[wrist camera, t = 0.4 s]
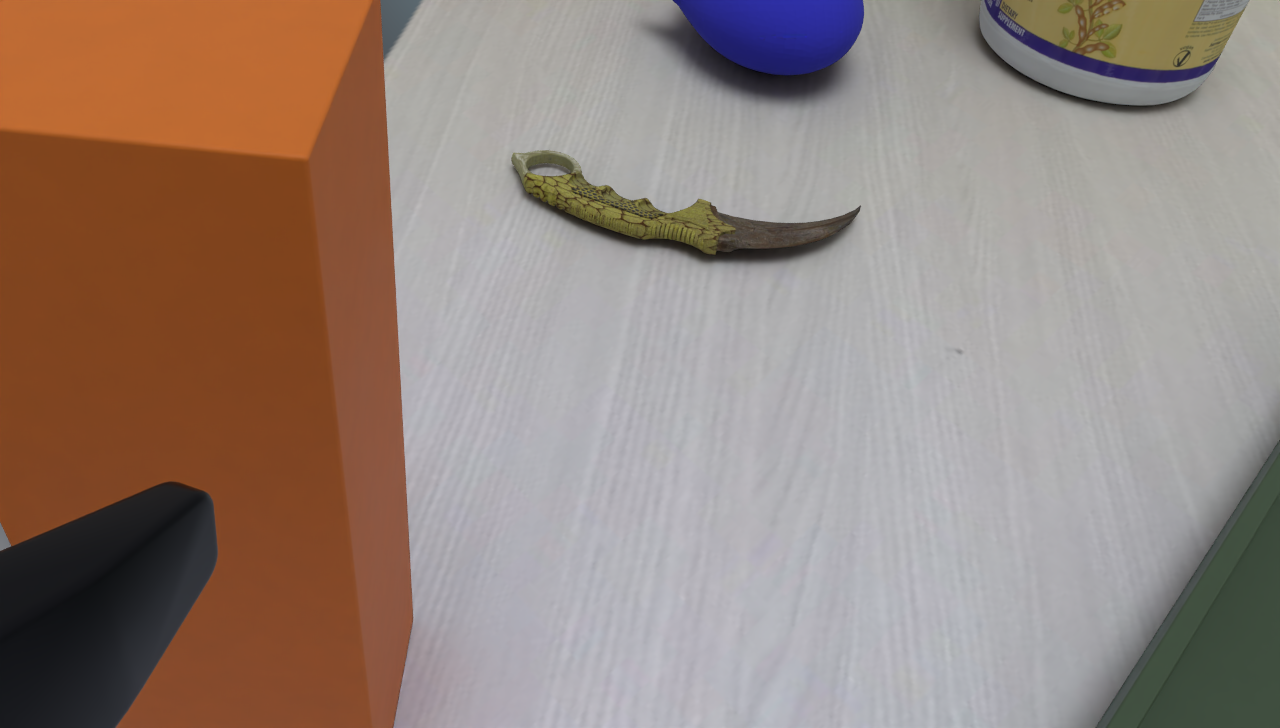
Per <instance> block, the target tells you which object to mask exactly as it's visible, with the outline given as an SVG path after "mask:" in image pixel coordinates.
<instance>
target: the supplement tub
mask: <svg viewBox="0 0 1280 728" xmlns="http://www.w3.org/2000/svg"><path fill="white" fill-rule="evenodd" d="M1248 2H1249V0H982V2H981V6H980V12H979V22H980V29H981V32H982V34H983V37H984V38H985V40H986V41H987V43H988V44H989V46H990V47H991V48H992V49H993V50H994V51H995V52H996V53H997V54H998V55H999V56H1000V57H1001V58H1002V59H1003V60H1004V61H1005V62H1007V63H1008V64H1009V65H1011V66H1012V67H1013V68H1015V69H1016V70H1018V71H1019V72H1021V73H1023V74H1024V75H1026V76H1028V77H1029V78H1031V79H1033V80H1035V81H1037V82H1039V83H1041V84H1044V85H1046V86H1048V87H1051V88H1053V89H1055V90H1058V91H1061V92H1064V93H1067V94H1070V95H1073V96H1077V97H1081V98H1085V99H1089V100H1094V101H1099V102H1105V103H1112V104H1122V105H1157V104H1163V103H1168V102H1171V101H1175V100H1178V99H1180V98H1182V97H1184V96H1186V95H1188V94H1189V93H1191V92H1193V91H1194V90H1195V89H1197V88H1198V87H1199V86H1200V85H1201V84H1202V83H1203V82H1204V81H1205V80H1206V78H1207V77H1208V76H1209V75H1210V74H1211V72H1212V71H1213V69H1214V67H1215V64H1216V62H1217V60H1218V58H1219V56H1220V55H1221V53H1222V51H1223V49H1224V47H1225V45H1226V43H1227V41H1228V40H1229V38H1230V36H1231V34H1232V32H1233V30H1234V28H1235V26H1236V25H1237V23H1238V21H1239V19H1240V17H1241V15H1242V13H1243V12H1244V10H1245V8H1246V6H1247V4H1248Z"/></svg>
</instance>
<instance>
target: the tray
mask: <svg viewBox="0 0 1280 728" xmlns="http://www.w3.org/2000/svg"><path fill="white" fill-rule="evenodd" d="M1096 728H1280V440H1279V442H1278V443H1277V445H1276V446H1275V448H1274V450H1273V451H1272V453H1271V454H1270V456H1269V457H1268V459H1267V461H1266V462H1265V464H1264V465H1263V467H1262V468H1261V470H1260V471H1259V473H1258V475H1257V476H1256V478H1255V479H1254V481H1253V482H1252V484H1251V486H1250V487H1249V489H1248V490H1247V492H1246V493H1245V495H1244V496H1243V498H1242V500H1241V501H1240V503H1239V504H1238V506H1237V507H1236V509H1235V511H1234V512H1233V514H1232V515H1231V517H1230V518H1229V520H1228V522H1227V523H1226V525H1225V526H1224V528H1223V529H1222V531H1221V532H1220V534H1219V536H1218V537H1217V539H1216V540H1215V542H1214V543H1213V545H1212V547H1211V548H1210V550H1209V551H1208V553H1207V554H1206V556H1205V557H1204V559H1203V561H1202V562H1201V564H1200V565H1199V567H1198V568H1197V570H1196V572H1195V573H1194V575H1193V576H1192V578H1191V579H1190V581H1189V582H1188V584H1187V586H1186V587H1185V589H1184V590H1183V592H1182V593H1181V595H1180V597H1179V598H1178V600H1177V601H1176V603H1175V604H1174V606H1173V607H1172V609H1171V611H1170V612H1169V614H1168V615H1167V617H1166V618H1165V620H1164V622H1163V623H1162V625H1161V626H1160V628H1159V629H1158V631H1157V633H1156V634H1155V636H1154V637H1153V639H1152V640H1151V642H1150V643H1149V645H1148V647H1147V648H1146V650H1145V651H1144V653H1143V654H1142V656H1141V658H1140V659H1139V661H1138V662H1137V664H1136V665H1135V667H1134V668H1133V670H1132V672H1131V673H1130V675H1129V676H1128V678H1127V679H1126V681H1125V683H1124V684H1123V686H1122V687H1121V689H1120V690H1119V692H1118V693H1117V695H1116V697H1115V698H1114V700H1113V701H1112V703H1111V704H1110V706H1109V708H1108V709H1107V711H1106V712H1105V714H1104V715H1103V717H1102V719H1101V720H1100V722H1099V723H1098V725H1097V726H1096Z"/></svg>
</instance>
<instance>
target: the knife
mask: <svg viewBox="0 0 1280 728" xmlns="http://www.w3.org/2000/svg"><path fill="white" fill-rule="evenodd" d="M511 159H512V163H513V165H514V167H515V168H516V169H517V171H518V173H519V175H520V177H521V180H522V184H523V185H524V188H525V191H526V192H527V193H528V194H532V193H533V196H534V197H536V198H538V197H540V200H542V201H543V202H546V201H548V203H549V204H550V205H552V206H555V205H556V207H557V208H559V209H560V210H562V209H564V210H565V211H566V212H567V213H569V214H571V215H574V216H576V217H578V218H580V219H583V220H585V221H588V222H590V223H593V224H595V225H598V226H601V227H604V228H607V229H610V230H613V231H615V232H618V233H622V234H625V235H628V236H632V237H635V238H639V239H643V240H644V239H654V238H661V239H670V240H676V241H679V242H683V243H687V244H689V245H692V246H694V247H696V248H698V249H699V250H701V251H702V252H704V253H706V254H711V255H715V254H716V252H717V251H723V252H731V251H733V250H737V249H743V248H757V249H768V248H783V247H792V246H798V245H804V244H808V243H812V242H816V241H819V240H821V239H824V238H827V237H829V236H831V235H833V234H835V233H837V232H839V231H840V230H842V229H843V228H845V227H846V226H847V225H849V224H850V223H851V222H852V221H853V220H854V219H855V217H856V216H857V214H858V213H859V211H860V207H861V206H859V207H858V208H857V209H856V210H854V211H852V212H849V213H847V214H845V215H843V216H839V217H836V218H832V219H827V220H822V221H816V222H807V223H773V222H763V221H754V220H749V219H744V218H738V217H733V216H729V215H726V214H722V213H719V212H717V209H716V207H715V206H712V205H711V203H710V202H708V201H705V200H702V199H698V200H697V202H696V203H695V204H693V205H692V206H691V207H688V208H686V209H683V210H680V211H677V212H674V213H665V212H662V211H659V210H658V209H656V208H655V207H653V205H652V204H651V202H650V201H649V200H648V199H647V198H643V199H638V200H634V201H633V200H632V201H631V200H628V199H625V198H623V197H621V196H619V195H618V194H616V193H615V191H614V190H613V189H612V188H611V187H610V186H607V185H605V186H599V187H597V186H593V185H591V184H589V183H588V182H587V181H586V180H585V179H584V177H583V175H582V171H581V167H580V165H579V164H578V162H577V161H576V160H575V159H574V158H572V157H570V156H569V155H566V154H564V153H560V152H556V151H549V150H545V151H533V152H528V153H513V155H512V158H511ZM542 163H550V164H557V165H560V166H563V167H565V168H567V169H569V170H570V171H571V172H572V173H569V174H566V175H562V176H540V175H535V174H533V173H531V172H530V171H529V170H528V168H529V167H531V166H533V165H536V164H542Z"/></svg>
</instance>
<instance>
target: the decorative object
mask: <svg viewBox="0 0 1280 728" xmlns="http://www.w3.org/2000/svg"><path fill="white" fill-rule="evenodd" d="M673 1H674V2H675V3H676V4H677V5H678V6H679V7H680V9H681V10H682V12H683V13H684V15H685V16H686V18H687V19H688V20H689V22H690V23H691V24H692V26H693V27H694V28H695V30H696V31H697V32H698V33H699V35H700V36H701V37H702V38H703V39H704V40H705V41H706V42H707V43H708V44H709V45H710V46H711V47H712V48H714V49H715V50H716V51H717V52H719V53H720V54H721V55H723V56H724V57H726V58H728V59H729V60H731V61H733V62H735V63H737V64H739V65H741V66H744V67H746V68H749V69H752V70H756V71H760V72H764V73H769V74H775V75H800V74H806V73H810V72H814V71H818V70H820V69H823V68H825V67H827V66H829V65H832V64H833V63H835V62H836V61H838V60H839V59H840V58H842V57H843V56H844V55H845V54H846V53H847V52H848V51H849V49H850V48H851V47H852V45H853V44H854V43H855V41H856V39H857V37H858V35H859V33H860V31H861V28H862V24H863V18H864V6H863V0H673Z"/></svg>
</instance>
